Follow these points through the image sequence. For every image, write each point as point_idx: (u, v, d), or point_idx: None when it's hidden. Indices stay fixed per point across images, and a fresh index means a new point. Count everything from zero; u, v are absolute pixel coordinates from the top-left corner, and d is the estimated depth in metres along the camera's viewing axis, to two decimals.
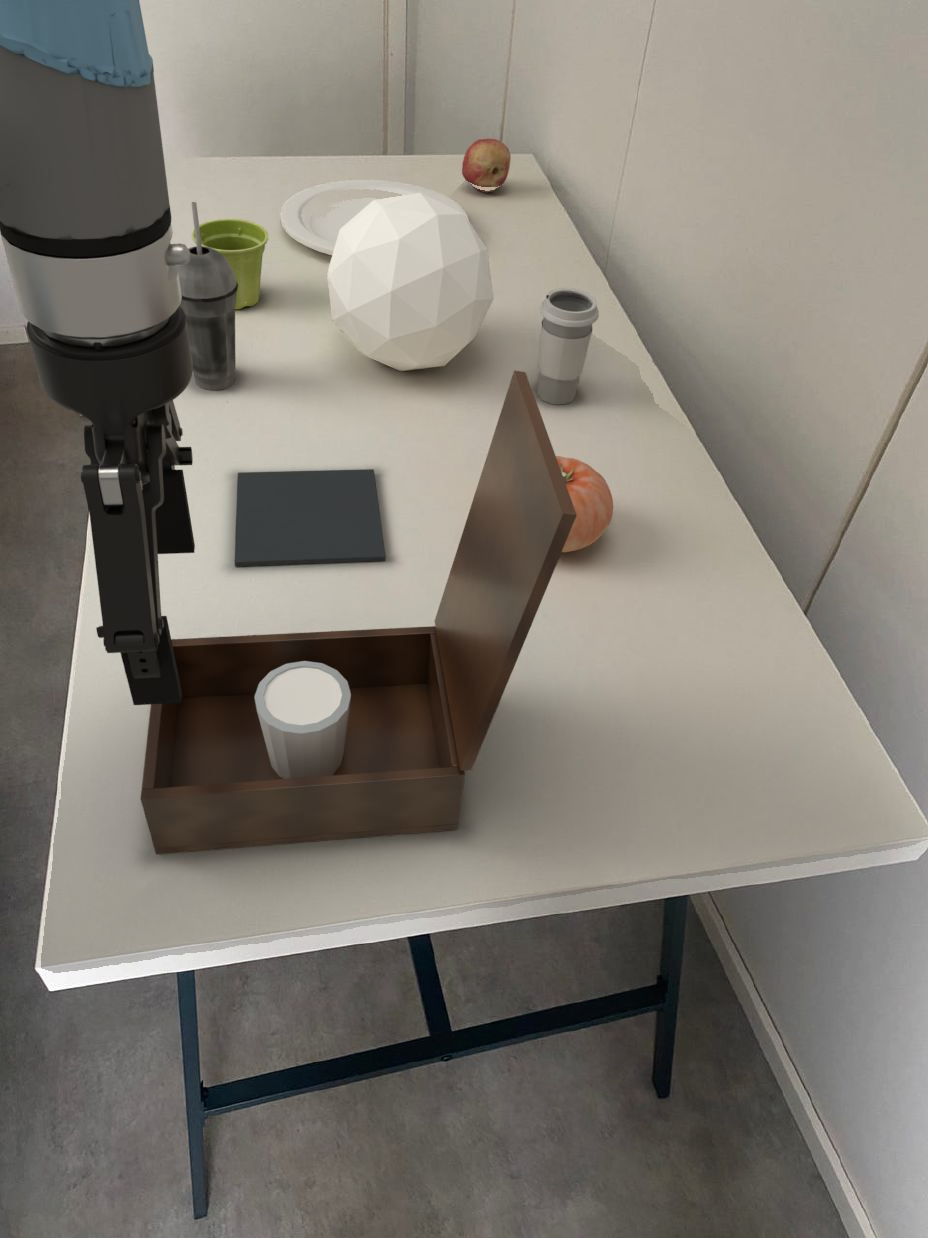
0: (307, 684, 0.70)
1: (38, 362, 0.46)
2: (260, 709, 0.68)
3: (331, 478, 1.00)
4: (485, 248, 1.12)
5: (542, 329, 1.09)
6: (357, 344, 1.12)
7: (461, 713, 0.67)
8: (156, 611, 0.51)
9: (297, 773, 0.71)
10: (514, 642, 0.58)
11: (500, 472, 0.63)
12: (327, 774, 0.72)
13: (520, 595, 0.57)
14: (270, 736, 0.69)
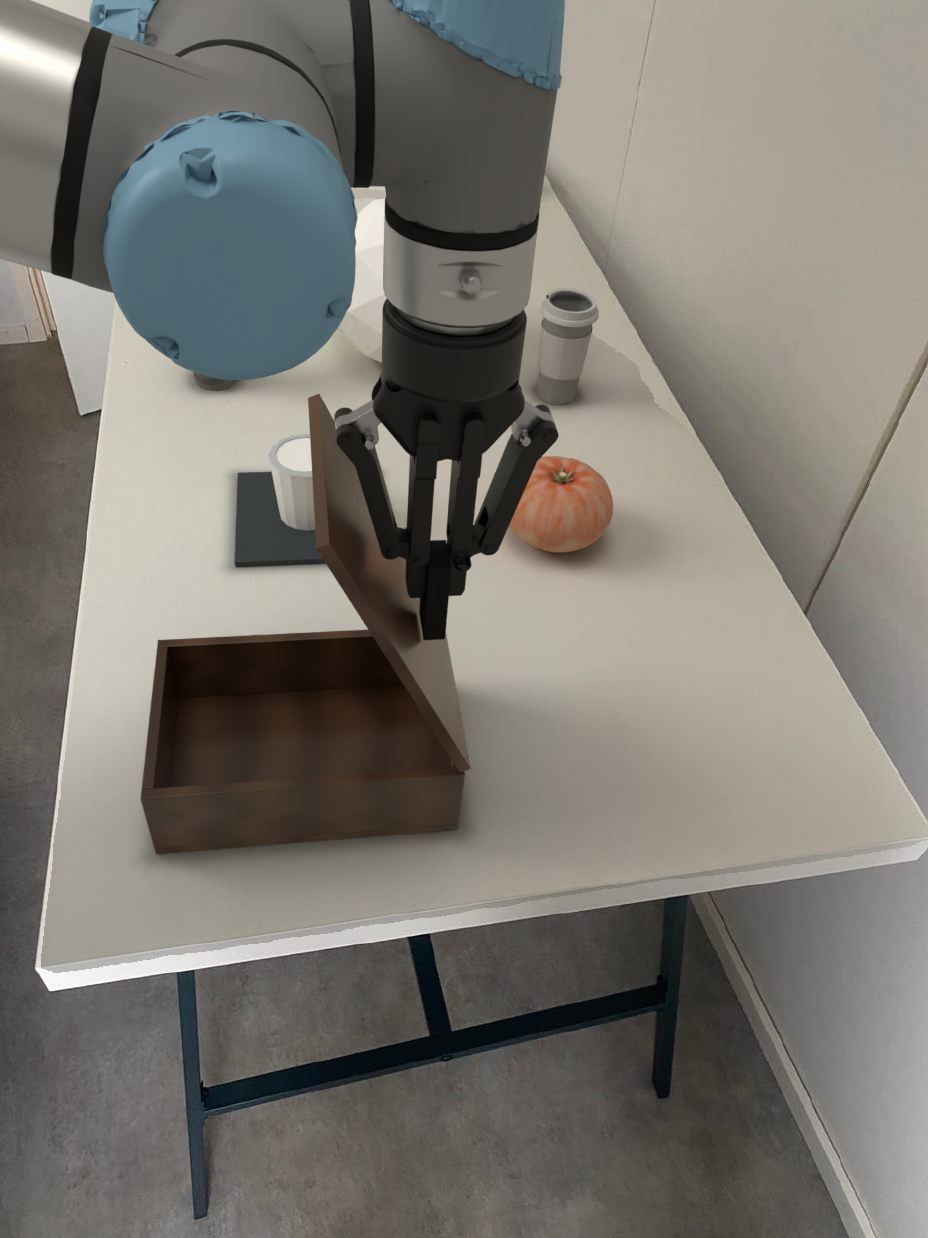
0: (308, 448, 0.91)
1: None
2: (273, 461, 0.89)
3: None
4: None
5: (542, 329, 1.09)
6: (357, 344, 1.12)
7: None
8: (410, 550, 0.60)
9: (301, 519, 0.92)
10: (391, 660, 0.57)
11: None
12: None
13: None
14: (280, 483, 0.90)
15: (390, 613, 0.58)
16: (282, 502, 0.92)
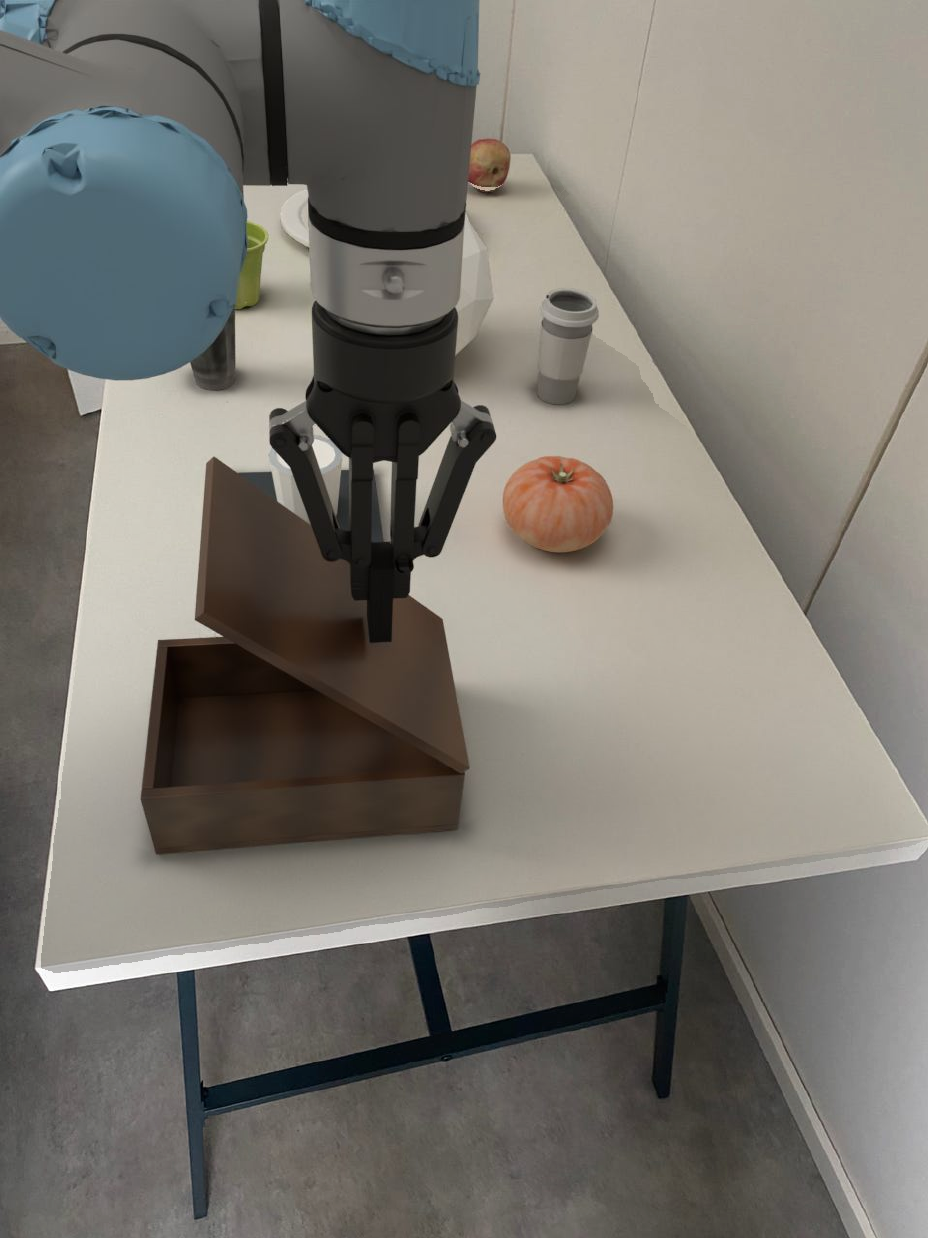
0: None
1: None
2: (273, 461, 0.89)
3: None
4: (485, 248, 1.12)
5: (542, 329, 1.09)
6: None
7: None
8: (351, 552, 0.59)
9: None
10: (328, 694, 0.59)
11: None
12: None
13: None
14: (280, 483, 0.90)
15: (321, 648, 0.60)
16: (282, 502, 0.92)
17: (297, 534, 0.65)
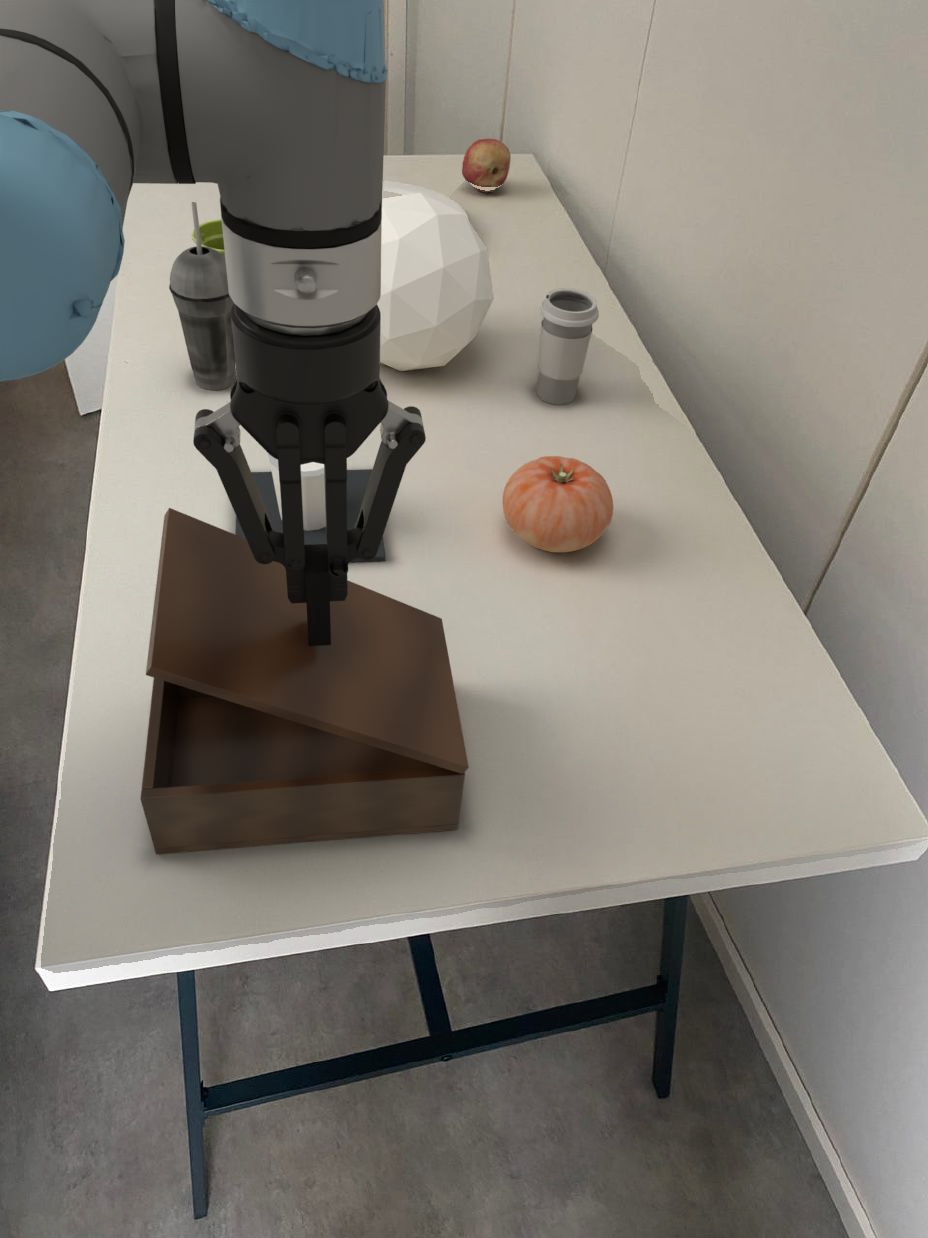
0: None
1: None
2: (273, 461, 0.89)
3: None
4: (485, 248, 1.12)
5: (542, 329, 1.09)
6: None
7: None
8: (285, 554, 0.58)
9: None
10: (299, 721, 0.60)
11: None
12: (324, 523, 0.94)
13: None
14: None
15: (289, 676, 0.61)
16: None
17: (265, 566, 0.67)
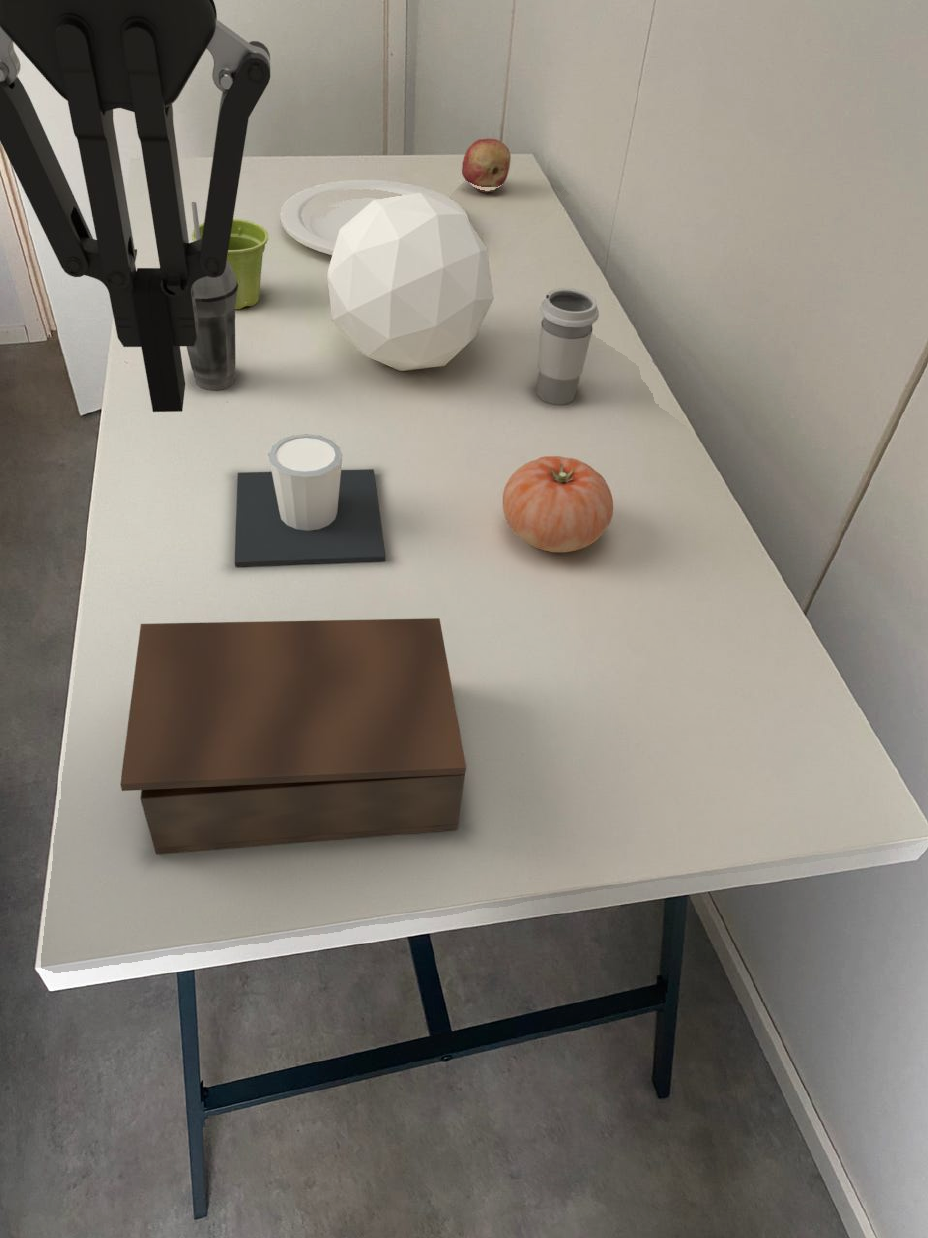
0: (309, 448, 0.91)
1: None
2: (273, 461, 0.89)
3: None
4: (485, 248, 1.12)
5: (542, 329, 1.09)
6: (357, 344, 1.12)
7: None
8: (102, 262, 0.45)
9: (301, 519, 0.92)
10: (277, 782, 0.64)
11: None
12: (324, 523, 0.94)
13: None
14: (280, 483, 0.90)
15: (261, 743, 0.65)
16: (282, 502, 0.92)
17: (238, 642, 0.72)
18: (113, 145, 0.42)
